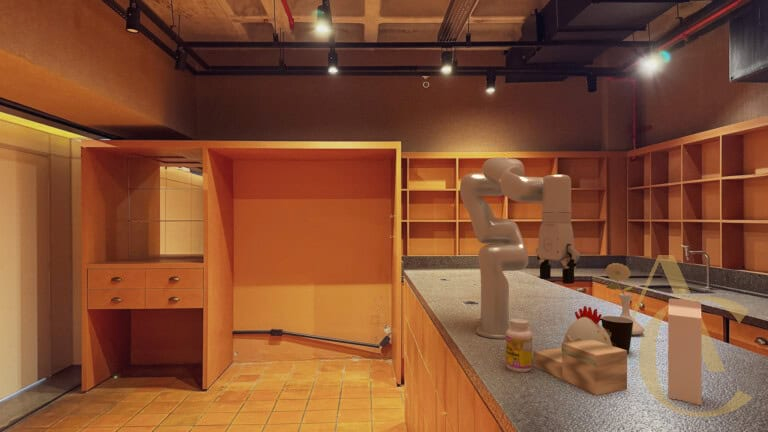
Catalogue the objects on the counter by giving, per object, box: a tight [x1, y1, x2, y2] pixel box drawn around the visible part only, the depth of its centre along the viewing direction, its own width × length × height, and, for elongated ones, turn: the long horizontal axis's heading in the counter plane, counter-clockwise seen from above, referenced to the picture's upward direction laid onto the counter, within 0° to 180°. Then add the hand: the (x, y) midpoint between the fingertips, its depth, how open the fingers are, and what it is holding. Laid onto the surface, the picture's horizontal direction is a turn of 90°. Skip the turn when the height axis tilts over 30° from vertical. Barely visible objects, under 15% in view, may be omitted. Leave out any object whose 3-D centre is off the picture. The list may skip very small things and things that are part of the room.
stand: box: [532, 339, 628, 396], centre depth 104 cm, size 20×10×9 cm, turn 22°
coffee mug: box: [598, 315, 633, 356], centre depth 126 cm, size 12×9×10 cm
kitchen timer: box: [562, 305, 612, 346], centre depth 119 cm, size 14×14×15 cm
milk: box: [667, 298, 703, 406], centre depth 92 cm, size 6×6×22 cm
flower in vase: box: [604, 262, 645, 336], centre depth 147 cm, size 13×11×25 cm
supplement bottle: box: [505, 318, 533, 373], centre depth 109 cm, size 7×7×13 cm
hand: (556, 281), depth 113 cm, fingers open, 9 cm apart
